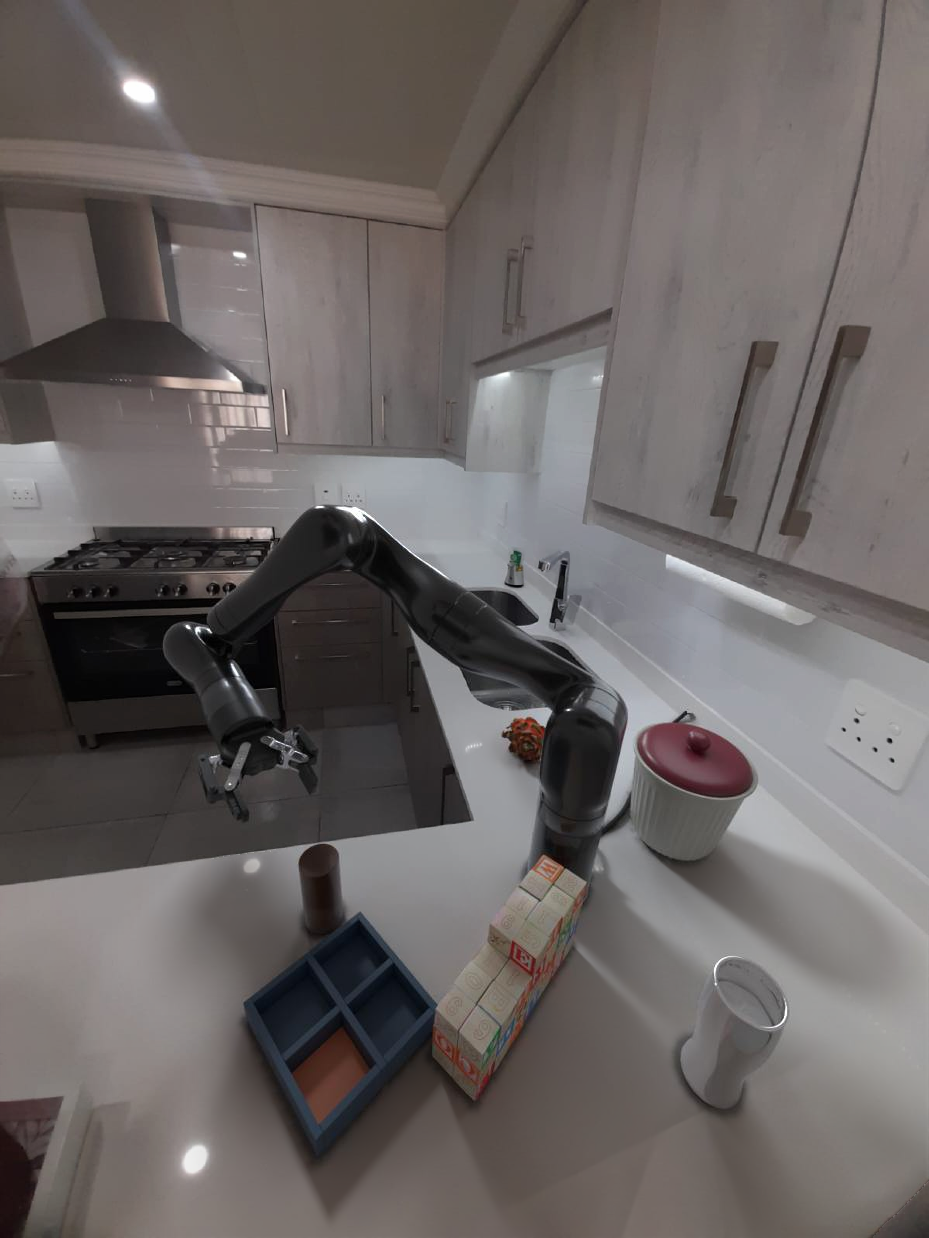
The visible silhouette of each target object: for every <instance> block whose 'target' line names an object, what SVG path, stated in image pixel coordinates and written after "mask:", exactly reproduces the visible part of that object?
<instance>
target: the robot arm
mask: <svg viewBox="0 0 929 1238" xmlns="http://www.w3.org/2000/svg"><path fill="white" fill-rule="evenodd" d="M346 571H349V572H353V573H355V575H356V574H357V575H358V576H360V577H362V579H365V580H366V581H368V582H369V583H371V584H372V585H374V586H375V587H376V588H378V589H379V590H381V591H382V592H383V593H384V594H385V595H387V597H389V598H390V600H391V601H392V602H393V604H394V605H395V607H397V609H398V611H399V612H400V614H401V615H402V617H403V619H404V620H405V622H406V623H407V625H408V626H409V628H410V629H411V630H412V631H413V632H414V634H415V635H416V636H417V637H418V638H419V639H420V640H421V641H422V642H423V643H424V644H426V645H427V646H428V647H430V648H431V649H432V650H434V651H435V652H436V653H437V654H439V655H440V656H441V657H442V658H444V659H445V660H447V661H448V662H449V663H451V664H453V665H455V667H458V668H459V669H462V670H464V671H467V672H469V673H472V674H476V675H479V676H482V677H487V678H491V679H494V680H499V681H502V682H505V683H509V684H511V685H514V686H516V687H518V688H520V689H522V690H524V691H525V692H527V693H528V694H529V695H531V696H533V697H534V698H536V700H538V701H539V702H541V703H542V704H543V705H545V706H546V707H547V708H548V709H549V710H550V711H551V713H550V715H549V717H548V719H547V721H546V724H545V726H544V727H545V731H544V737H543V743H542V751H541V757H540V759H539V769H538V779H539V783H540V785H539V790H538V797H537V805H536V812H535V816H534V817H535V818H534V823H533V829H532V836H531V842H530V848H529V855H528V861H527V866H526V869H525V876H526V875H527V874H528V873H529V871H530V870H532V869H533V867H534V866H535V865H536V864H537V862H538V861H539V860H540V858H541V857H542V856H543V855H545V856H547V857H548V858H550V859H552V860H553V861H555V862H556V863H558V864H560V865H561V866H562V867H564V869H568V870H569V871H570V872H572V873H573V874H575V875H576V876H578V877H579V878H581V879H582V880H584V881H586V883H587V884H586V888H585V893H584V897H583V903H582V905H583V904H584V902H586V900H587V897H588V895H589V891H590V884H591V880H592V875H593V872H594V867H595V863H596V860H597V859H596V858H597V854H598V850H599V846H600V842H601V837H602V835H604V834H606V833H607V832H608V831H610V830H611V829H612V828H613V827H615V825H616V824H618V822H619V821H621V820H622V818H623V817H624V816H625V815H626V813H627V811H628V810H630V809H629V808H631V793H632V789H631V790H630V793H629V794H628V797H627V798H626V801H625V803H624V805H623V806H622V808H621V809H620V811H619V812H618V813H617V814H616V815H615V816H614V817H613V818H612V819H611V820H610V821H608V822H607V823H606V824H605V819H606V815H607V811H608V806H609V804H610V803H609V802H610V798H611V795H612V789H613V785H614V781H615V776H616V773H617V768H618V764H619V760H620V756H621V751H622V747H623V742H624V738H625V734H626V730H627V726H628V722H629V720H628V719H629V712H628V707H627V704H626V702H625V700H624V699H623V697H622V696H621V694H620V693H619V692H618V691H617V690H616V689H615V688H614V687H612V686H611V685H610V684H608V683H607V682H605V681H604V680H602V679H601V678H599V677H597V676H596V675H595V674H592V673H591V672H589V671H587V670H586V669H583V668H582V667H580V666H578V665H577V664H574V663H573V662H571V661H570V660H568V659H566V658H564V657H562V656H561V655H559V654H557V652H554V651H553V650H551V649H549V648H548V647H546V646H545V645H544V644H542V643H541V642H540V641H538V640H537V639H535V638H534V637H533V636H531V635H530V634H529V633H527V632H526V631H524V630H523V629H521V627H518V626H517V625H516V624H514V623H513V622H511V621H510V620H509V619H507V618H506V617H504V616H503V614H500V613H499V612H498V611H497V610H495V608H493V607H492V606H490V605H489V604H488V603H486V602H485V601H483V600H482V599H481V598H480V597H478V596H476V595H475V594H474V593H473V592H471V591H470V590H469V589H467V588H465V587H463V586H462V585H460V584H459V583H457V582H456V581H454V580H453V579H452V578H450V577H449V576H448V575H446V574H445V573H443V572H441V570H439V569H437V568H436V567H435V566H433V565H432V564H429V562H427V561H425V560H423V559H421V558H420V557H418V556H417V555H416V554H414V552H412V551H411V550H410V549H408V548H407V547H406V546H404V545H403V544H402V543H401V542H400V541H399V540H398V539H396V538H395V537H394V536H393V535H392V534H391V533H389V531H388V530H387V529H385V528H384V527H383V526H382V525H381V524H380V523H378V522H377V520H376V519H374V518H373V517H372V516H371V515H370V514H368V513H367V512H365V511H364V510H362V509H361V508H358V507H355V506H352V505H347V504H329V503H328V504H318V505H314V506H311V507H310V508H307V509H306V510H305V511H304V512H303V513H301V515H300V516H299V517H298V518H297V519H296V520H295V521H294V522H293V524H292V525H291V526H290V527H289V528H288V530H286V532H285V534H283V536H282V538H281V539H280V540H279V542H278V543H277V544H276V545H275V546H274V547H273V549H272V550H271V551H270V552H269V553H268V555H267V556H266V557H265V558H264V560H263V561H262V562H261V563H260V564H259V565H258V566H257V568H255V569H254V570H253V572H251V573H250V574H249V576H248V577H245V579H244V580H243V581H242V582H240V583H239V584H238V585H237V586H236V587H235V588H234V589H232V590H231V591H230V592H228V594H226V596H223V598H221V599H220V600H219V601H218V602H217V603H216V604H215V605H213V606H212V608H210V610H209V612H208V613H207V616H206V624H204V623H203V624H202V623H198V622H194V621H186V620H185V621H180V622H179V621H178V622H177V623H174V624H173V625H171V626H170V627H169V628H168V630H167V631H166V632H165V634H164V636H163V640H162V641H163V642H162V651H163V654H164V658H165V659H166V661H167V663H168V665H169V666H170V668H172V669H173V670H174V672H176V673H177V674H178V675H179V677H180V678H181V679H183V681H184V682H185V683H187V684H188V685H189V686H190V687H191V688H192V689H193V691H194V693H195V696H196V697H197V700H198V702H199V704H200V706H201V709H202V715H203V718H204V720H205V725H206V726H207V728H208V730H209V731H210V734H211V735H212V738H213V740H214V742H215V745H216V747H217V748H218V751H219V754H216V755H212V756H209V755H208V754H200V755H198V756H197V759H196V760H197V773H198V776H199V780H200V783H201V786H202V789H203V793H204V796H205V798H206V802H207V803H208V804H210V805H214V804H216V803H217V802H220V801H222V802H225V803H226V805H227V806H228V809H229V811H230V813H231V815H232V818H233V820H235V821H236V822H239V821H240V822H241V824H245V823H248V822H249V821H250V811H249V808H248V806H247V803H246V801H245V799H244V797H243V795H242V793H241V791H240V788H241V786H242V783H243V781H244V779H245V777H246V776H249V777H250V778H252V777H254V776H257V775H258V774H260V773H262V772H266V771H270V770H273V769H275V767H278V768H281V769H283V770H288V769H289V770H291V771H294V772H296V773H298V777H299V779H300V781H301V782H302V785H303V787H304V788H305V790H306V791H307V793H308V795H309V796H311V795H314V794H315V793H316V792H317V788H318V784H319V777H318V775H317V773H316V772H315V770H314V769H313V767H312V766H314V765H316V764H317V763H318V755H319V747H318V746H317V745H316V743H315V742H314V741H313V739H312V738H311V736H310V735H309V734H308V733H307V731H306V730H305V728H304V726H303V725H302V724H300V723H296V724H294V725H293V728H292V729H290V730H288V731H286V732H281V731H280V730H278V729H277V728H276V725H275V723H274V721H273V720H272V717H271V716H270V714H269V712H268V711H267V709H266V707H265V706H264V703H263V702H262V700H261V698H260V697H259V695H258V693H257V692H256V690H255V689H254V687H253V686H252V685H251V684H250V683H249V680H248V679H247V677H246V675H245V673H244V672H243V670H242V668H241V667H240V665H239V664H238V663H237V662H236V661H235V660H236V658H237V657H238V655H239V653H240V651H241V650H242V648H243V647H244V645H246V643H247V641H248V639H250V638H251V637H252V636H253V635H254V634H256V633H258V631H260V630H261V629H263V628H264V627H265V626H266V625H267V624H269V623H270V622H271V621H272V620H274V618H275V617H276V616H277V615H278V614H279V612H280V611H281V610H282V609H283V607H284V605H285V603H286V602H287V600H288V599H289V597H290V596H292V594H293V593H294V592H295V591H297V590H299V589H300V588H301V587H303V586H304V585H306V584H308V583H309V582H312V581H313V580H316V579H317V578H319V577H321V576H324V575H326V574H333V573H341V572H346ZM688 714H689V713H687V711H686V710H684V711H683V712H682V713H681V714H680V715H679V716H678V717H676V718H675V719H673V721H672V722H673V723H680V721H682V720H683V719H684V718H685V717H686V716H687V715H688ZM689 715H690V714H689ZM286 743H290V744H291V745H292V746H290V745H288V744H286ZM294 747H296V748H297V749H298V750H299V751H297V750H295V748H294ZM282 756H283V757H282ZM219 766H222V767H224V768H227V769H229V770H230V771H229V775H228V776H227V779H226V782H225V783H224V784H219V785H218V782H217V779H216V775H215V774H216V773H217V772H218V767H219ZM604 824H605V825H604Z"/></svg>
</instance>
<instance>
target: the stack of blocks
mask: <svg viewBox="0 0 929 1238" xmlns="http://www.w3.org/2000/svg"><path fill="white" fill-rule="evenodd" d="M586 884H587V883H586V881H584V880H582V879H581V878H579V877H578V876H576V875H575V874H573V873H572V872H570V871H569V870H568V869H564V867H562V866H561V865H560V864H558V863H556V862H555V861H553V860H552V859H550V858H548V857H547V856H545V855H543V856H542V857H541V858H540V860H539V861H538V862H537V864H536V865H535V866H534V867H533V869H532V870H530V871H529V873H528V874H527V875H526V874H525V877H524V878H523V879H522V880H521V882H519V885H518V886H516V888H515V889H514V890H513V891H512V893H511V894H510V895H509V897H508V898H507V899H506V901H505V903H504V905H502V906H501V908H499V910H498V911H497V913H496V914H495V916H494V917H493V919H492V920H491V921H490V922H489V926H488V927H489V928H488V934H487V940H486V942H485V943H484V944H483V945H482V947H481V949H480V950H479V951H478V953H476V955H475V956H474V957H473V959H472V960H470V961H469V963H468V964H467V965H466V966H465V968H464V969H463V970H462V972H461V973H459V975H458V977H457V978H456V979H455V980H454V982H453V985H452V986H451V988H450V989H449V990H448V991H447V993H446V994H445V995H444V996H443V998H442V999H441V1000H440V1002H439V1003H438V1004H437V1005H438V1006H437V1007H436V1009H435V1022H434V1025H433V1032H432V1048H431V1056H432V1058H433V1059H434V1060H435V1061H436V1062H437V1063H438V1064H439V1065H440V1066H441V1067H442V1069H444V1071H445V1072H447V1074H448V1075H450V1077H451V1078H452V1079H453V1081H454V1082H455V1083H456V1084H457V1085H458V1086H459V1087H460V1089H462V1091H463V1092H465V1093H466V1095H468V1097H469V1098H471V1100H472V1101H474V1102H476V1101H477V1100H478V1098H479V1096H480V1095H481V1093H482V1091H483V1090H484V1088H485V1087H486V1085H487V1083H488V1082H489V1080H490V1078H491V1076H492V1074H493V1073H495V1071H496V1070H497V1068H499V1065H500V1064H501V1062H502V1060H503V1059H504V1057H505V1055H506V1054H507V1052H508V1050H509V1048H510V1047H511V1046H512V1044H513V1042H514V1041H515V1040H516V1038H517V1036H518V1034H519V1033H520V1032H521V1030H522V1028H523V1027H524V1023H525V1022H526V1021H527V1018H528V1017H529V1015H530V1014H531V1012H532V1010H533V1009H534V1008H535V1005H536V1004H537V1003H538V1000H539V999H540V998H541V996H542V993H543V992H544V991H545V990H546V987H547V986H548V984H549V982H551V981H552V979H553V978H554V976H555V975H556V972H557V971H558V969H559V968H560V966H561V965H562V963H563V962H564V960H565V959H566V957H567V956H568V954H569V952H570V951H571V949H572V947H573V945H574V942H575V938H576V934H577V927H578V921H579V918H580V915H581V911H582V908H583V904H584V902H583V897H584V893H585V888H586ZM582 903H583V904H582Z"/></svg>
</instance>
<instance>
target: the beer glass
mask: <svg viewBox="0 0 929 1238" xmlns="http://www.w3.org/2000/svg"><path fill="white" fill-rule="evenodd" d="M789 1019H790V1006H789V1002H788V999H787V997H786V995H785V992H784V990H783V989H782V987H781V986H780V984H779V982H777V980H776V979H775V978H774V977H773V976H772V975H771V974H770V973H769V972H768V971H767V970H766V969H764V968H763V967H762V966H760V965H759V964H758V963H756V962H754V961H752V960H750V959H748V958H746V957H743V956H737V955H728V956H724V957H722V958H720V959H719V960H717V962H716V963H715V965H714V967H713V969H712V971H711V972H710V974H709V976H708V977H707V978H706V980H705V983H704V985H703V986H702V988H701V991H700V994H699V997H698V1000H697V1005H696V1011H695V1020H694V1030H693V1034H692V1036H691V1037H690V1038H689V1039H687V1041H686V1042H685V1043H684V1044H683V1045H682V1047H681V1050H680V1058H679V1059H680V1067H681V1071H682V1074H683V1077H684V1078H685V1080H686V1082H687V1084H688V1086H689V1087H690V1088H691V1090H692V1091H693V1092H694V1093H695V1095H696V1096H698V1097H699V1098H700V1099H701V1100H702V1101H703V1102H705V1103H706V1104H708V1105H710V1106H711V1107H714V1108H715V1109H721V1110H722V1109H723V1110H725V1109H731V1108H732V1107H734V1106H735V1105H736V1104H737V1103H739V1100H740V1098H741V1095H742V1091H743V1086H744V1085H743V1084H744V1080H745V1079H746V1078H747V1077H749V1076H750V1075H752V1074H753V1073H754V1072H756V1071H757V1070H758V1069H760V1068H761V1067H762V1066H763V1065H764V1064H765V1063H766V1062H767V1061H769V1059H770V1058H771V1056H772V1055H773V1053H774V1052H775V1050H776V1049H777V1047H778V1045H779V1044H780V1043H779V1042H781V1041H780V1040H781V1038H782V1035H783V1032H784V1031H785V1028H786V1025H787V1024H788V1021H789Z"/></svg>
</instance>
